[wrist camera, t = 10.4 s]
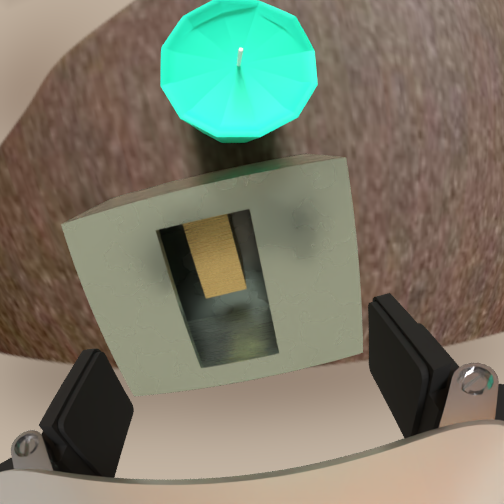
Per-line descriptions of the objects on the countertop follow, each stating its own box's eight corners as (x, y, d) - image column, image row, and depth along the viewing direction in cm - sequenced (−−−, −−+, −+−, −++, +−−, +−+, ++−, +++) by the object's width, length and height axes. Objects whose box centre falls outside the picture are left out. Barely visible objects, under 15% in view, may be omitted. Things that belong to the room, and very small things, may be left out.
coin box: (305, 153, 21) (345, 157, 14) (326, 294, 25) (362, 352, 17) (112, 198, 21) (61, 224, 14) (155, 329, 25) (134, 396, 17)
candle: (264, 154, 21) (307, 160, 10) (179, 133, 20) (126, 117, 9) (287, 74, 20) (348, 7, 8) (202, 53, 19) (180, -34, 7)
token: (223, 203, 17) (246, 289, 18) (224, 190, 21) (242, 259, 23) (179, 214, 17) (205, 298, 18) (190, 199, 21) (210, 267, 23)
